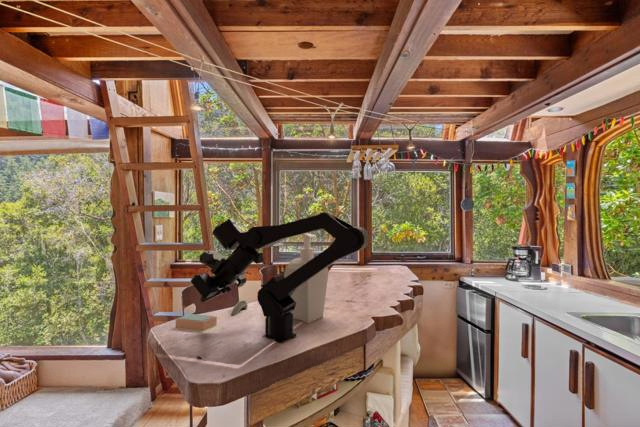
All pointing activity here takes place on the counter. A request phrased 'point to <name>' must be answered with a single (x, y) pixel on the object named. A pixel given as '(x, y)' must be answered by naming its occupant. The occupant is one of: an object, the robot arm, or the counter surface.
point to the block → (196, 322)
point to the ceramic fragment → (237, 308)
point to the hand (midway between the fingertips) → (202, 301)
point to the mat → (209, 330)
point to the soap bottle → (308, 286)
